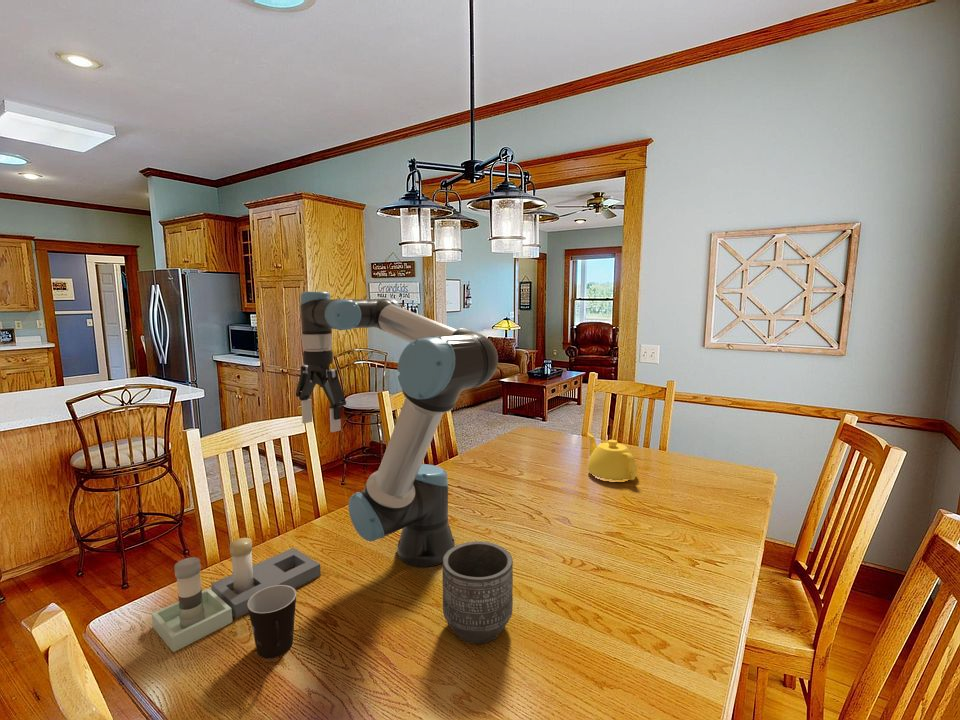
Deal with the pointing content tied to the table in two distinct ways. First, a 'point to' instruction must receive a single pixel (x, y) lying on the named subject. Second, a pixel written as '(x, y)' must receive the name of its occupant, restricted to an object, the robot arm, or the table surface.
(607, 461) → the teapot
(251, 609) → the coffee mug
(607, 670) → the table surface
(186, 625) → the cylinder
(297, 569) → the grey socket holder
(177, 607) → the parts tray
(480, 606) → the planter
